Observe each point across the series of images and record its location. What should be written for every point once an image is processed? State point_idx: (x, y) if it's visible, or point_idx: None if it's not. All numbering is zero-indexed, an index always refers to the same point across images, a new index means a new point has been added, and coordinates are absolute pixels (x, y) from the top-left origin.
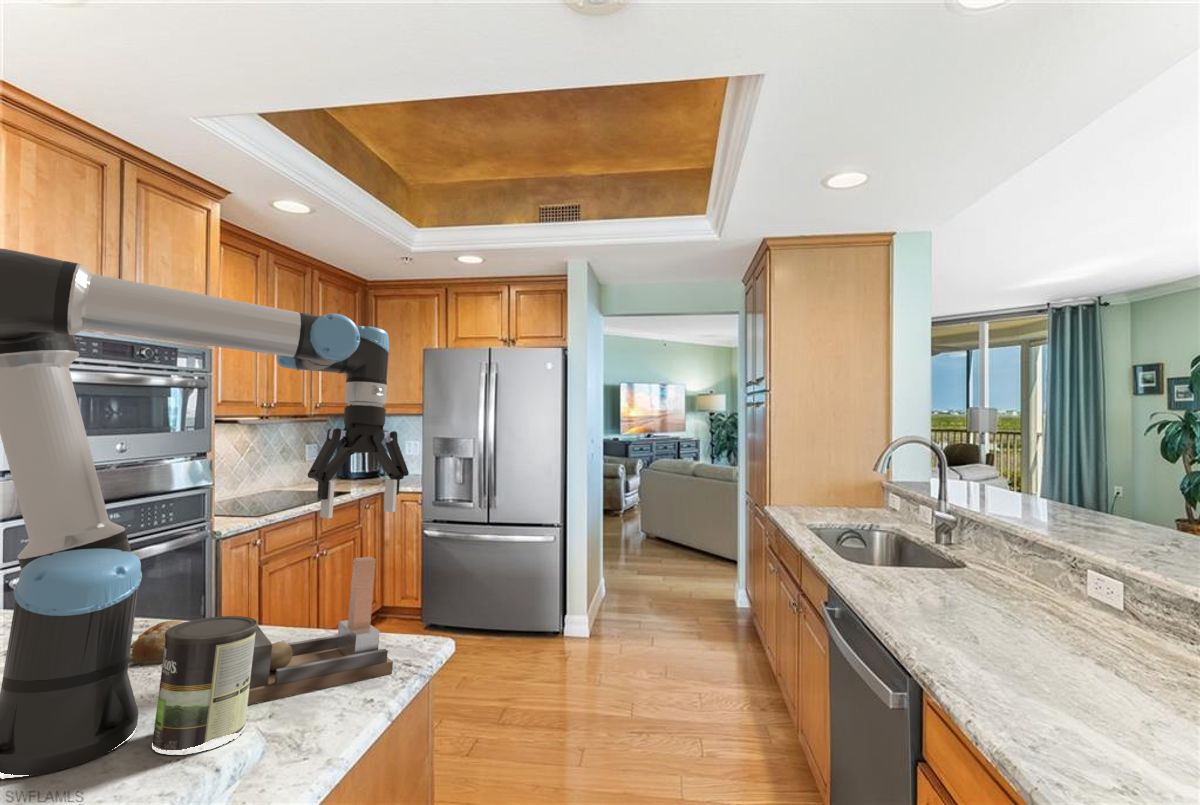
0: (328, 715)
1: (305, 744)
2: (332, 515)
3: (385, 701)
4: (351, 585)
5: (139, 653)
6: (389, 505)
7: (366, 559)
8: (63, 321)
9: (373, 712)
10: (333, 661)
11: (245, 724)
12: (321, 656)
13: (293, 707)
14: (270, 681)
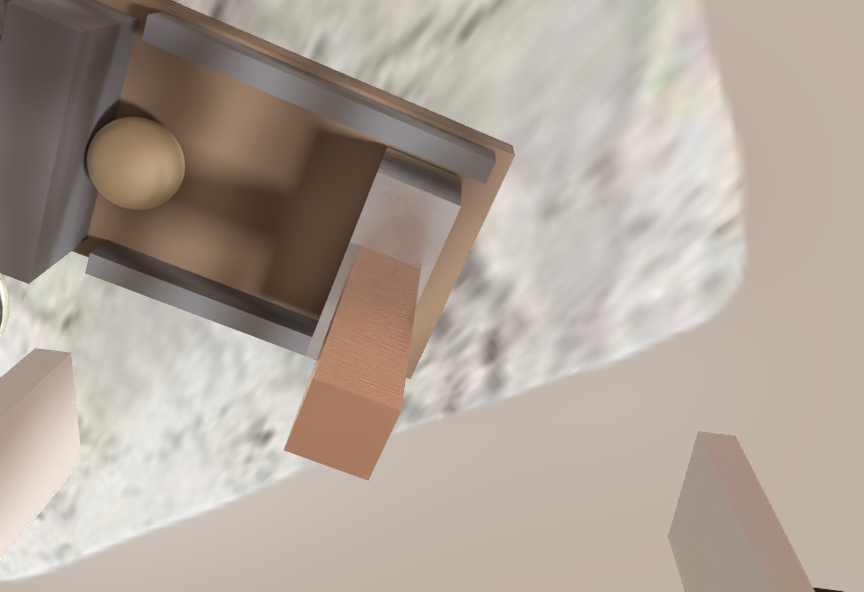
0: (156, 420)
1: None
2: (71, 472)
3: (280, 466)
4: (336, 313)
5: None
6: (691, 542)
7: (330, 454)
8: None
9: (227, 483)
10: (236, 327)
11: (2, 328)
12: (311, 164)
13: (124, 325)
14: (101, 222)
